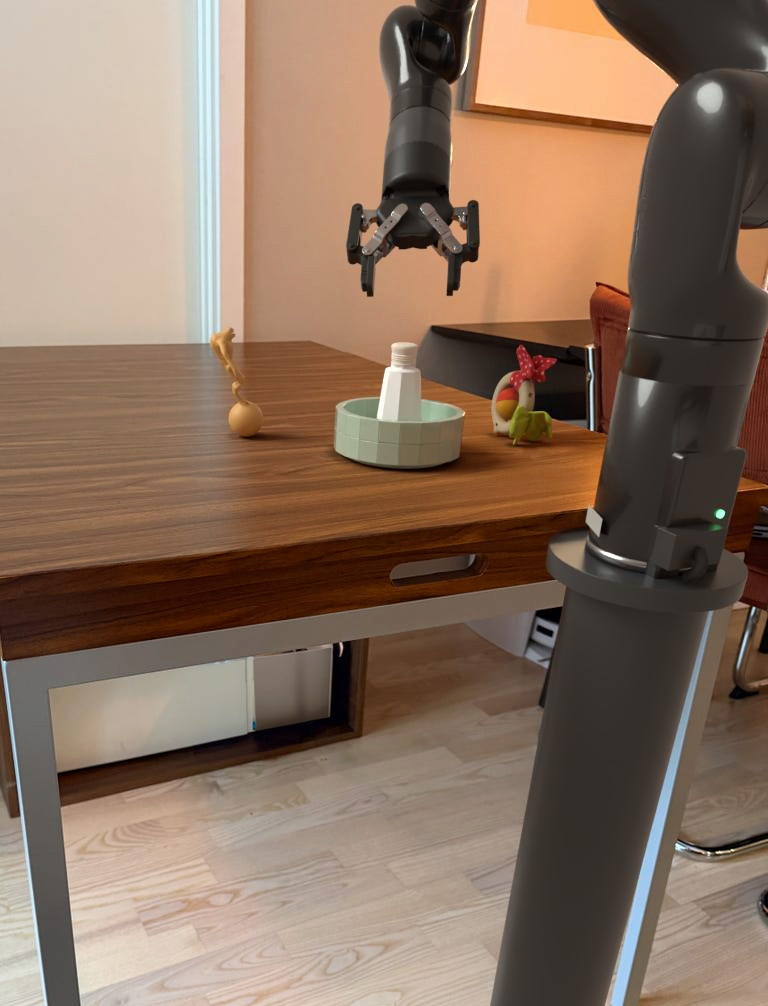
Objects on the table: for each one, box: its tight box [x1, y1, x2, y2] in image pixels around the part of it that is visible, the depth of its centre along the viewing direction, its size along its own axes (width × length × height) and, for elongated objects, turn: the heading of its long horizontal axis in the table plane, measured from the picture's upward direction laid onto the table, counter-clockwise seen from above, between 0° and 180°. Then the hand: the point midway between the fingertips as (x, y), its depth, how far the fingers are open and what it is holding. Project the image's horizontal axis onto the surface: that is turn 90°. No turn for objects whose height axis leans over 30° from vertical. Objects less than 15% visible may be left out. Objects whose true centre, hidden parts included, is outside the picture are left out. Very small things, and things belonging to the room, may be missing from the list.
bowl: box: [333, 396, 466, 470], centre depth 93 cm, size 14×14×5 cm
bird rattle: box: [491, 344, 558, 446], centre depth 101 cm, size 6×11×9 cm
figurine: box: [209, 326, 264, 438], centre depth 98 cm, size 8×6×12 cm
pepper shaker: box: [377, 341, 422, 421], centre depth 92 cm, size 5×5×11 cm
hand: (409, 291), depth 93 cm, fingers open, 8 cm apart
